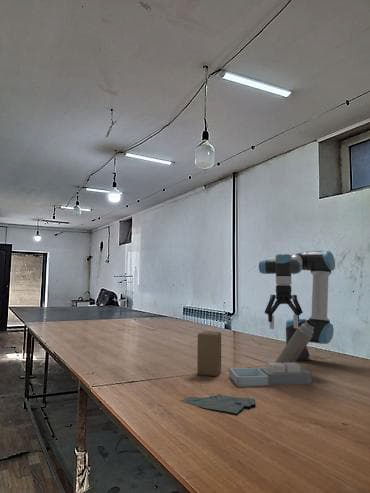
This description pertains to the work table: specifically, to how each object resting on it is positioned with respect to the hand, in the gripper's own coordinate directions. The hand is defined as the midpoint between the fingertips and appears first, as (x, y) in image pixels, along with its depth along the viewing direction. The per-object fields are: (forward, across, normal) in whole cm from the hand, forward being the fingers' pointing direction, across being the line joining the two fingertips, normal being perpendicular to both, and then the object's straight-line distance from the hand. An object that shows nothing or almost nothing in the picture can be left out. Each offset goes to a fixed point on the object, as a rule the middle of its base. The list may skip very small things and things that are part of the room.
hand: (283, 328), depth 180 cm
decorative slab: (+24, +46, +29) cm, 59 cm away
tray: (+23, +21, +3) cm, 31 cm away
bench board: (+23, +4, +7) cm, 24 cm away
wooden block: (+23, +33, -15) cm, 43 cm away
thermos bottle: (+21, -5, -10) cm, 23 cm away
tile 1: (+18, +8, +6) cm, 21 cm away
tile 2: (+18, +1, +8) cm, 20 cm away
